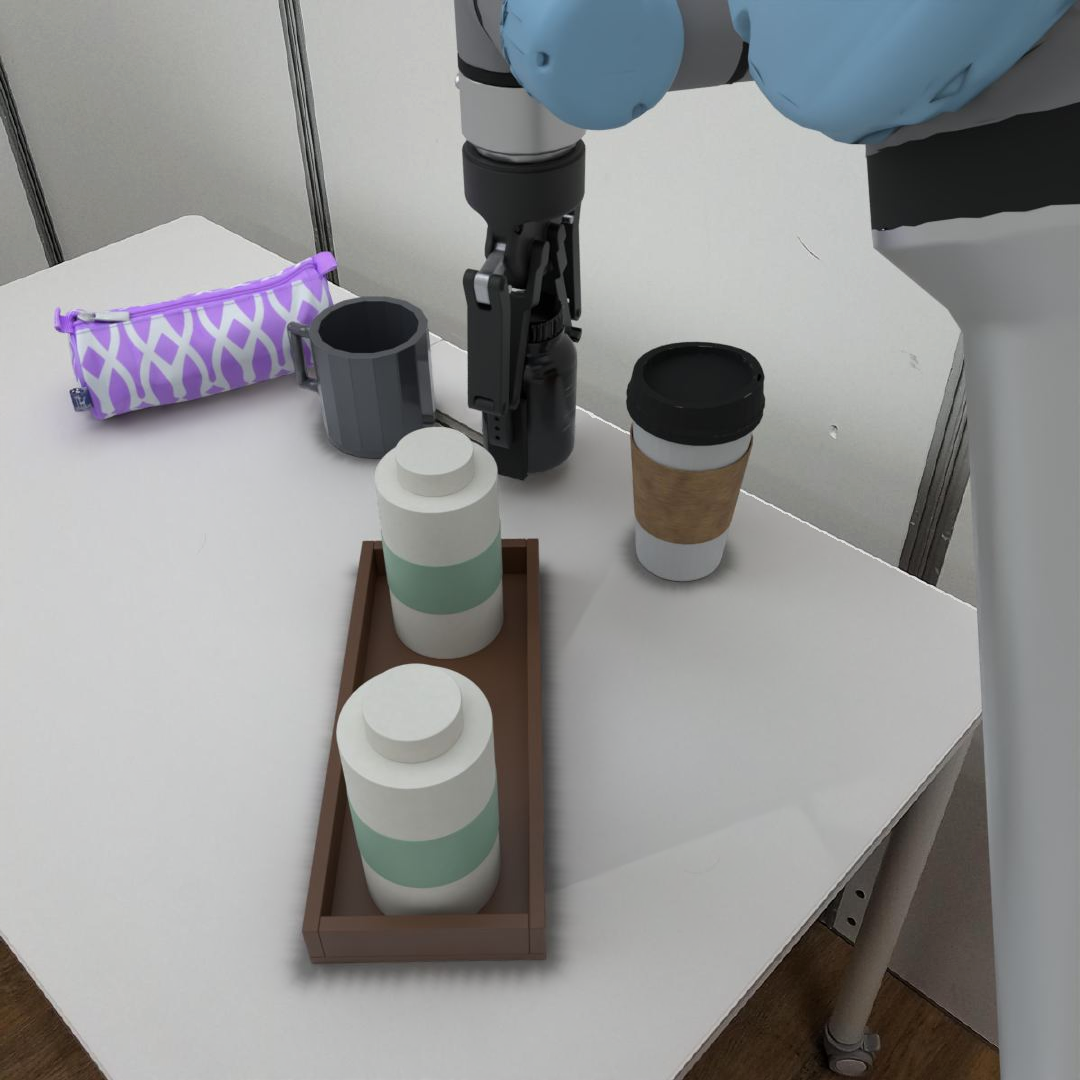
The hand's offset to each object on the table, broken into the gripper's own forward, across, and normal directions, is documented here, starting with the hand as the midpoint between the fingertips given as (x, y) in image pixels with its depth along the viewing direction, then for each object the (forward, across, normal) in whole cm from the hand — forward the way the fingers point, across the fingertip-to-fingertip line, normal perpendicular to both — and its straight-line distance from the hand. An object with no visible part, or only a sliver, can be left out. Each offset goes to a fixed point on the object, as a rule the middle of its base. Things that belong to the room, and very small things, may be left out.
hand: (529, 444), depth 83 cm
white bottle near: (+2, +33, +9) cm, 35 cm away
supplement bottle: (+1, 0, 0) cm, 1 cm away
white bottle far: (+2, +17, +2) cm, 17 cm away
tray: (+2, +25, +6) cm, 26 cm away
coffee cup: (+2, +5, +13) cm, 14 cm away
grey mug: (+2, 0, -14) cm, 15 cm away
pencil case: (+2, 0, -28) cm, 29 cm away
